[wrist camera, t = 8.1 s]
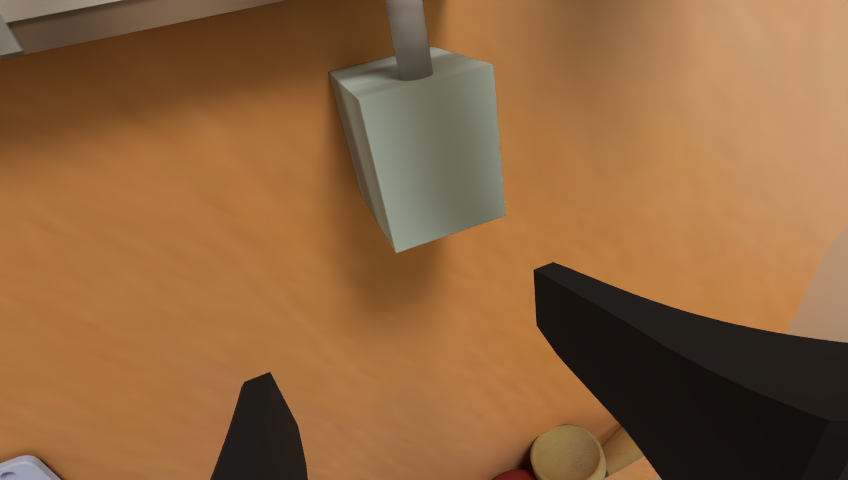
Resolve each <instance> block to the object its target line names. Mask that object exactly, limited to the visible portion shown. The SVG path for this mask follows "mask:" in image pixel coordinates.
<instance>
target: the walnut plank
mask: <svg viewBox="0 0 848 480" xmlns="http://www.w3.org/2000/svg"><path fill="white" fill-rule="evenodd" d="M280 1H285V0H0V60H2V59H7V58H12V57H17V56H22V55H26V54H31V53H36V52H41V51H45V50H50V49H55V48H60V47H65V46H69V45H74V44H79V43H84V42H89V41H93V40H98V39H103V38H108V37H113V36H117V35H122V34H127V33H132V32H137V31H141V30H146V29H151V28H156V27H160V26H165V25H170V24H175V23H180V22H184V21H189V20H194V19H199V18H204V17H208V16H213V15H218V14H223V13H228V12H232V11H237V10H242V9H247V8H251V7H256V6H261V5H266V4H271V3H275V2H280Z"/></svg>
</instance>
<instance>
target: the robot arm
mask: <svg viewBox="0 0 848 480" xmlns="http://www.w3.org/2000/svg"><path fill="white" fill-rule="evenodd" d="M534 285H535V304H536V322H537V326H538V328H539V329H540V331H541V332H542V334H543V335H544V337H545V338H546V340H547V341H548V343H549V344H550V345H551V347H552V348H553V349H554V351H555V352H556V354H557V355H558V356H559V357H560V358H561V360H562V361H563V362H564V363H565V364H566V365H567V366H568V367H569V368H570V370H571V371H572V372H573V373H574V374H575V375H576V376H577V377H578V378H579V379H580V381H581V382H582V383H583V384H584V385H585V386H586V387H587V388H588V389H589V390H590V391H591V393H592V394H593V395H594V396H595V397H596V398H597V399H598V400H599V401H600V402H601V403H602V405H603V406H604V407H605V408H606V409H607V410H608V411H609V412H610V413H611V414H612V415H613V417H614V418H615V419H616V420H617V421H618V422H619V424H620V425H621V426H622V427H623V428H624V429H625V431H626V432H627V433H628V435H629V436H630V437H631V438H632V440H633V441H634V442H635V444H636V445H637V446H638V448H639V449H640V450H641V452H642V453H643V454H644V456H645V457H646V458H647V460H648V461H649V462H650V464H651V465H652V466H653V468H654V469H655V471H656V472H657V473H658V475H659V476H660V478H661V479H662V480H848V343H843V342H835V341H827V340H820V339H813V338H807V337H800V336H793V335H787V334H782V333H776V332H770V331H765V330H760V329H755V328H750V327H746V326H741V325H736V324H732V323H727V322H723V321H719V320H715V319H712V318H708V317H704V316H700V315H697V314H693V313H689V312H686V311H683V310H679V309H676V308H673V307H670V306H667V305H664V304H661V303H658V302H655V301H652V300H649V299H646V298H643V297H640V296H638V295H635V294H632V293H630V292H627V291H624V290H622V289H619V288H617V287H614V286H611V285H609V284H606V283H604V282H601V281H599V280H597V279H594V278H592V277H589V276H587V275H584V274H582V273H579V272H577V271H575V270H572V269H570V268H567V267H565V266H562V265H559V264H557V263H554V262H552V263H550V264H547V265H545V266H542V267H540V268H537V269H534ZM0 480H61V479H60V478H59V477H58V476H56V475H55V474H54V473H53V472H52V471H51V470H50V469H49V468H48V467H47V466H46V465H45V464H44V463H43V462H41V461H40V460H39V459H38V458H36V457H35V456H30V455H24V456H19V457H16V458H14V459H11V460H8V461H6V462H3V463H0ZM210 480H308V478H307V468H306V462H305V457H304V452H303V447H302V442H301V438H300V433H299V429H298V425H297V423H296V421H295V419H294V417H293V415H292V413H291V411H290V409H289V407H288V406H287V404H286V402H285V400H284V398H283V396H282V394H281V392H280V390H279V388H278V386H277V384H276V382H275V380H274V379H273V377H272V375H271V373H270V372H269V373H266V374H264V375H261V376H259V377H256V378H254V379H251V380H248V381H246V382H244V384H243V386H242V387H241V391H240V394H239V398H238V401H237V405H236V408H235V411H234V415H233V418H232V421H231V424H230V427H229V430H228V433H227V436H226V439H225V442H224V444H223V447H222V450H221V453H220V455H219V458H218V461H217V464H216V466H215V469H214V472H213V474H212V477H211V479H210Z"/></svg>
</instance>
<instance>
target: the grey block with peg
mask: <svg viewBox="0 0 848 480" xmlns="http://www.w3.org/2000/svg"><path fill="white" fill-rule="evenodd" d="M385 5H386V10H387V15H388V20H389V26H390V31H391V36H392V42H393V47H394V52H395V56H390V57H386V58H382V59H378V60H374V61H370V62H366V63H362V64H358V65H354V66H350V67H346V68H342V69H338V70H334V71H330V72H328V73H329V77H330V81H331V84H332V88H333V92H334V95H335V99H336V103H337V107H338V110H339V114H340V118H341V121H342V125H343V129H344V133H345V136H346V140H347V144H348V147H349V151H350V155H351V158H352V162H353V166H354V170H355V173H356V177H357V181H358V184H359V188H360V192H361V196H362V197H363V199H364V201H365V202H366V204H367V206H368V207H369V209H370V211H371V212H372V214H373V216H374V217H375V219H376V221H377V222H378V224H379V226H380V227H381V229H382V231H383V232H384V234H385V236H386V237H387V239H388V241H389V242H390V244H391V246H392V247H393V249H394V251H395V252H396V253H398V252H401V251H404V250H407V249H410V248H413V247H416V246H419V245H422V244H424V243H427V242H430V241H433V240H436V239H439V238H442V237H445V236H448V235H451V234H454V233H457V232H459V231H462V230H465V229H468V228H471V227H474V226H477V225H480V224H483V223H486V222H489V221H492V220H494V219H497V218H500V217H503V216H505V203H504V191H503V179H502V167H501V154H500V142H499V130H498V118H497V105H496V93H495V81H494V69H493V64H490V63H486V62H483V61H480V60H476V59H473V58H470V57H466V56H463V55H459V54H456V53H453V52H449V51H446V50H443V49H439V48H436V47H433V46H431V47H429V42H428V35H427V29H426V22H425V15H424V9H423V2H422V0H385Z"/></svg>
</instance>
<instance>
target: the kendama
mask: <svg viewBox="0 0 848 480" xmlns="http://www.w3.org/2000/svg"><path fill="white" fill-rule="evenodd" d="M643 456H644V454H643V453H642V452H641V450H640V449H639V448H638V446H637V445H636V444H635V442H634V441H633V440H632V438H631V437H630V436H629V435H628V433H627V432H626V431H625V429H624V428H623V427H622V426H621V427H620V428H619V429H618V430H617V431H616V432H615V433H614V434H613V435H611V436H610V437H609V438H608V439H607V441H606V442H605V443H604V444H603V445H602V446H601V445H600V443H599V441H598V440H597V438H596V437H595V436H594V435H593V434H591V433H590V432H589V431H587V430H585V429H583V428H581V427H578V426H574V425H559V426H556V427H554V428H552V429H551V430H549V431H547V432H545V433H543V434H541V435H540V436H538V437H537V438H536V439H535V441H534V443H533V445H532V448H531V454H530V457H531V463H532V467H533V471H534V472H532V471H528V470H511V471H508V472H505V473H503V474H501V475H499V476H498V477H496V478H495V479H494V480H604V478H606V477H608V476H610V475H612V474H613V473H615V472H617V471H619V470H621V469H623V468H624V467H626V466H628V465H630V464H631V463H633V462H635V461H636V460H638V459H640V458H641V457H643Z"/></svg>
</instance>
